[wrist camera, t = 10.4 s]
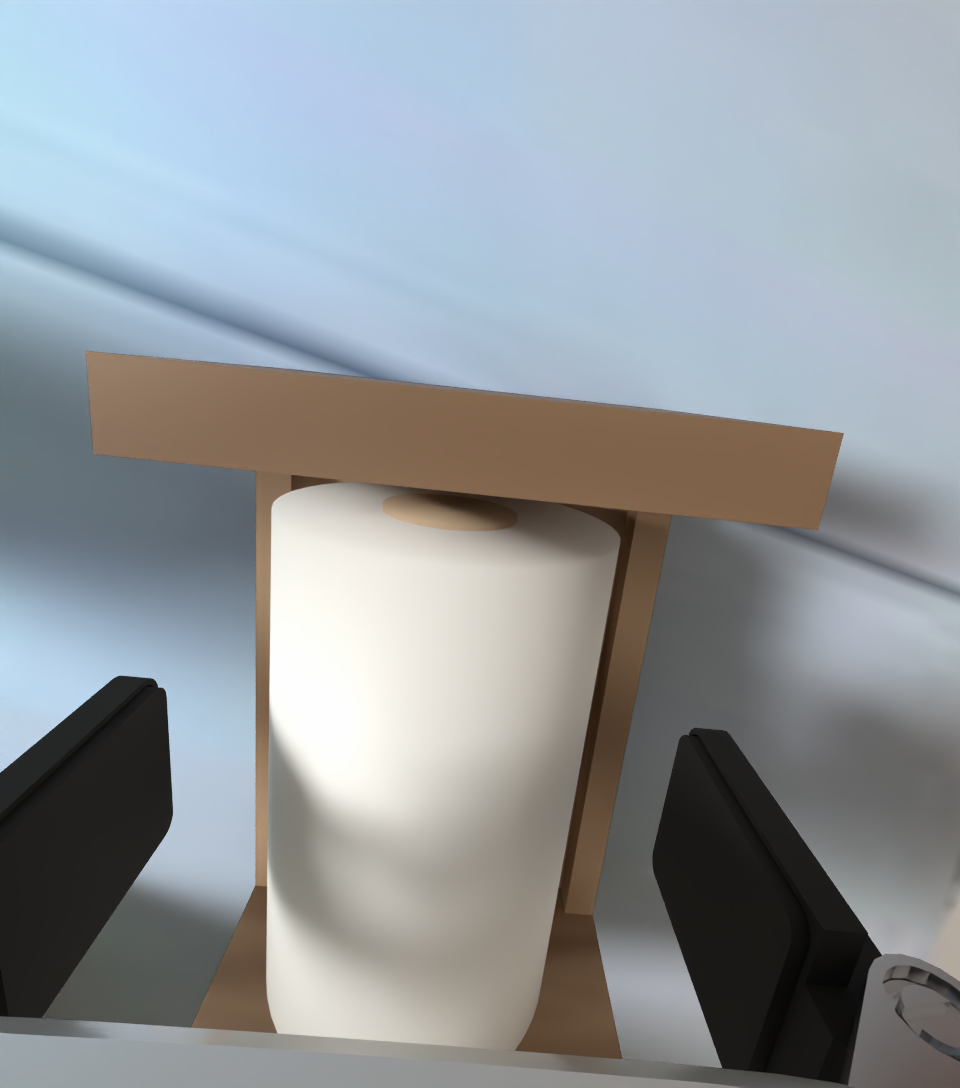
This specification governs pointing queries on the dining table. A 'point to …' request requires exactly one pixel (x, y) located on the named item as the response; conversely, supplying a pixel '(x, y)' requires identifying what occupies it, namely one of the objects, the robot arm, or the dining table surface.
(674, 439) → the cradle
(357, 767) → the roll
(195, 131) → the dining table surface
